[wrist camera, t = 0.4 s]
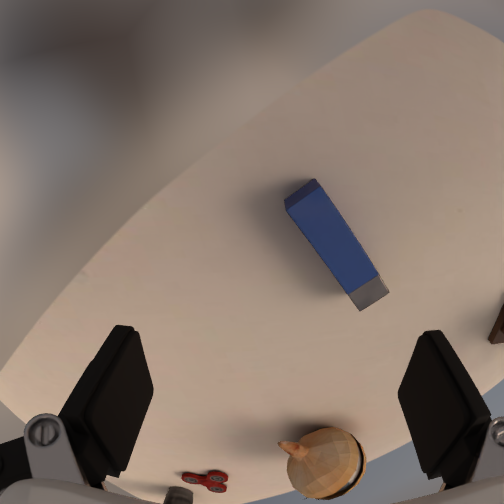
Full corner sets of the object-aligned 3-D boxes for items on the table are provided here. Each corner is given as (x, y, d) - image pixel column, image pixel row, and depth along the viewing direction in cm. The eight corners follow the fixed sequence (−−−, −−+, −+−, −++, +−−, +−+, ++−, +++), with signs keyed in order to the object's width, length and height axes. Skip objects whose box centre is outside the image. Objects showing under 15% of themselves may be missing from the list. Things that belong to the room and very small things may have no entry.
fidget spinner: (222, 468, 39) (221, 475, 38) (243, 486, 42) (242, 492, 41) (178, 471, 41) (177, 478, 40) (201, 489, 43) (200, 495, 42)
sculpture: (335, 509, 30) (260, 512, 23) (312, 458, 38) (240, 441, 31) (394, 475, 29) (339, 473, 21) (365, 423, 37) (304, 397, 29)
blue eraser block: (283, 200, 23) (285, 210, 21) (314, 178, 22) (320, 185, 20) (352, 294, 26) (359, 312, 24) (379, 276, 25) (390, 292, 23)
